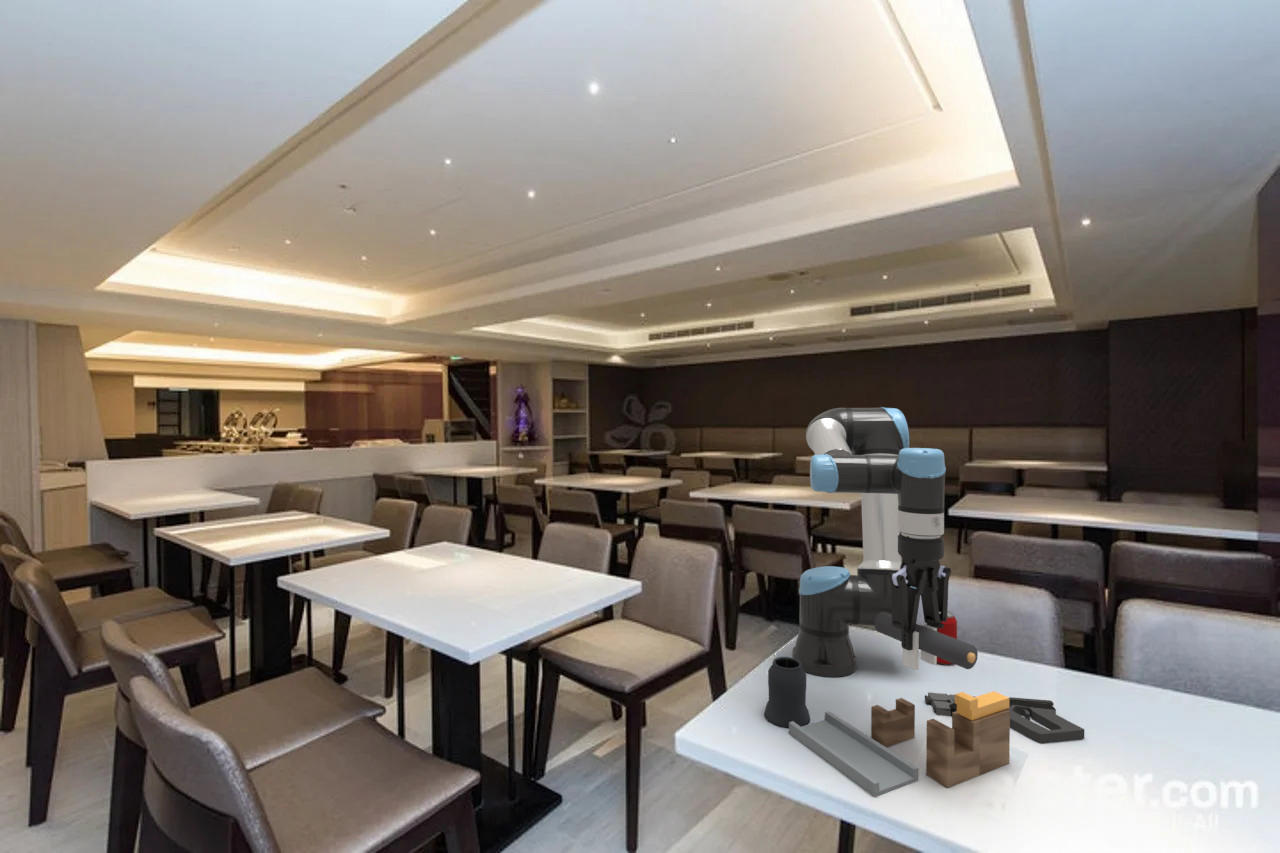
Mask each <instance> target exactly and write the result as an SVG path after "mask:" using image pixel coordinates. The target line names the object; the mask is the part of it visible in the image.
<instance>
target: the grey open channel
mask: <svg viewBox="0 0 1280 853" xmlns="http://www.w3.org/2000/svg"><path fill="white" fill-rule="evenodd" d="M788 734H789V735H791V736H792V737H793V738H794V739H796V740H798V741H799V742H800V743H802V745H804V746H806V747H807V748H808V749H809V750H811V751H813V752H814V753H815V754H816V755H818V756H819V757H820V758H822V759H823V760H825V761H826V762H827V763H828V764H829V765H831V766H833V767H834V768H835V769H836V770H838V771H839V772H841V773H842V774H843V775H845V776H846V777H848V778H849V779H850V780H851V781H853V782H854V783H855V784H857V785H858V786H859V787H861V788H863V789H864V790H865V791H866V792H868V793H869V794H870V795H872V796H873V797H878V796H880V795H884V794H886V793H888V792H891V791H894V790H897V789H899V788H902V787H904V786H907V785H909V784H912V783H915V782H918V781H919V767H918V766H916V765H915V764H914V763H911V762H910V761H909V760H907V759H905V758H904V757H902V756H900V755H899V754H898V753H896V752H894V751H892V750H891V749H890V748H888V747H885V746H883V745H882V744H880V743H878V742H877V741H875V740H874V739H872V738H871V736H869V735H867V734H865V733H864V732H862V731H861V730H859V729H858V728H856V727H854V726H853V725H852V724H850V723H848V722H846V721H845V720H843V719H842V718H840V717H839V716H837V715H836V714H834V713H833V712H831V711H829V710H828V711H825V712H824V719H823V720H819V721H816V722H813V723H809V724H808V725H805V726H799V725H798V724H796V723H795V722H793V721H792V722H789V729H788Z"/></svg>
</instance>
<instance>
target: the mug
mask: <svg viewBox="0 0 1280 853" xmlns="http://www.w3.org/2000/svg"><path fill="white" fill-rule="evenodd" d="M767 686H768V687H767V688H768V701H767V703H766V704H765V705H766V706H765V708H764V714H763V715H764V719H765V720H767V722H768V723H770V724H771V725H773V726H775V727H778V728H782V729H787V730H789V722H792V721H793V722H795V723H796V724H798V725H799V726H805V725H808V724H811V717H810V712H809V709H808V707H807V704H806V703H807V702H806V701H807V700H806V699H807V694H806V693H807V672H805V671H804V670H803V668H802V664H801V662H800V661H799V660H797V659H795V658H792V656H791V657H790V656H778V657H775V658H774V659H773V660H772V663H771V665H770V667H769V668H768V671H767Z"/></svg>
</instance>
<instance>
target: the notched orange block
mask: <svg viewBox="0 0 1280 853" xmlns="http://www.w3.org/2000/svg"><path fill="white" fill-rule="evenodd" d="M954 695H955V704H957V713H958V714H960V715H962V716H964V717H966V718H968V719H970V720H975V719H978V718H981V717H984V716H987V715H990V714H993V713H996V712H999V711H1002V710H1005V709H1008V708H1009V697H1010V696H1009V697H1008V696H1006V695H1004V694H1002V693H1000V692H996V690H995V691H990V692H987V693H985V694H984V693H983V694H981V695H978V696H975V697H973V696H974V695H973V696H972V695H971V694H968V693H966V692H964V691H961V692H958V693H955V694H954Z"/></svg>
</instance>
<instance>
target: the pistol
mask: <svg viewBox="0 0 1280 853" xmlns="http://www.w3.org/2000/svg"><path fill="white" fill-rule="evenodd" d="M973 697H976V696H974V695H973ZM924 702H925V704H926V705H931V707H932V709H933V713H935V714H936V715H937V716H945V717H951V718H952V712H955V711H957V704H955V694H951V693H950V694H947V693H940V692H927V695H924ZM1007 710H1009V711H1010V729H1011V730H1013V731H1014V732H1017V733H1018V734H1020V735H1021V736H1023V737H1026V738H1028V739H1029V740H1030V741H1033V742H1036V743H1037V744H1040V745H1043V744H1052V743H1063V742H1065V743H1066V742H1074V741H1082V740H1083V739H1085V728H1082V727H1081V726H1079V725H1077V724H1075V723H1073V722H1071V721H1070V720H1067V719H1066V718H1064V717H1062V716H1060V715H1058V714H1057V708H1055V707H1054V702H1053V701H1052V700H1048V699H1047V700H1046V699H1037V698H1036V699H1035V698H1025V697H1024V698H1023V697H1014V696H1013V697H1010V696H1009V708H1008V709H1007ZM1030 719H1031V720H1032V721H1031V720H1030ZM1037 723H1038V724H1037Z"/></svg>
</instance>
